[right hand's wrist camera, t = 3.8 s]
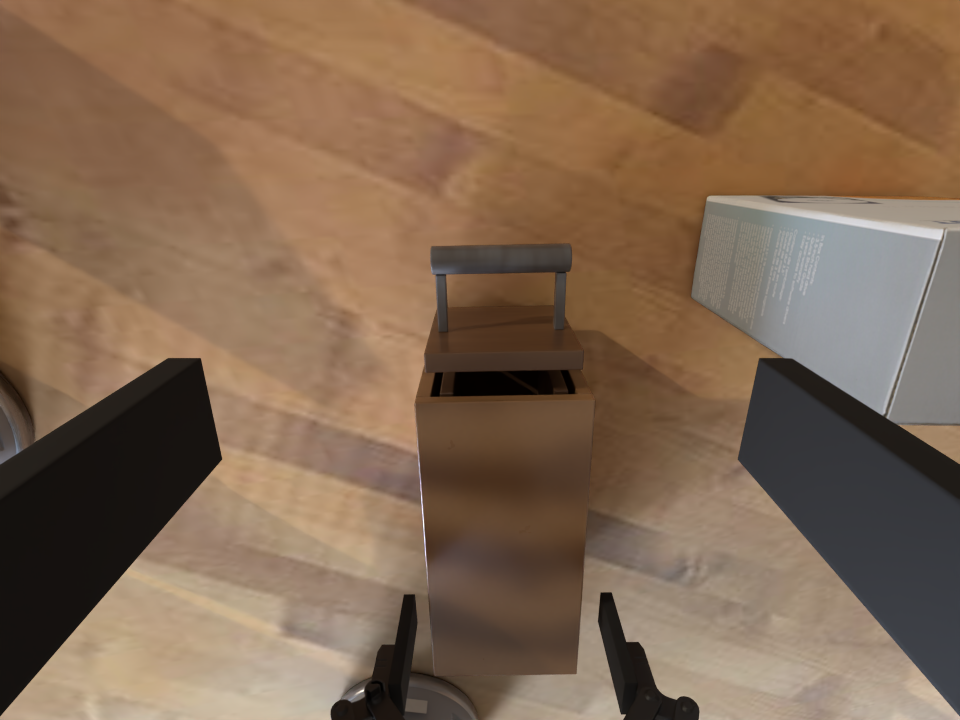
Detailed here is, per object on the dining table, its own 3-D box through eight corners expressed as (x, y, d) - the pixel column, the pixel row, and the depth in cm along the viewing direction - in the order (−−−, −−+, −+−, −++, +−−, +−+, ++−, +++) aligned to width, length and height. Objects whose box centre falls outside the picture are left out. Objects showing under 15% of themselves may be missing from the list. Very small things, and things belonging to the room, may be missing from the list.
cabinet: (431, 337, 39) (414, 403, 28) (563, 334, 39) (595, 399, 28) (444, 560, 47) (434, 676, 36) (554, 558, 47) (576, 674, 36)
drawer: (433, 234, 35) (417, 258, 26) (561, 231, 35) (589, 254, 26) (448, 533, 45) (441, 626, 36) (550, 531, 44) (568, 624, 36)
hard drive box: (928, 193, 35) (1435, 229, 16) (895, 301, 38) (1297, 437, 19) (702, 192, 35) (955, 227, 16) (685, 301, 38) (885, 436, 19)
